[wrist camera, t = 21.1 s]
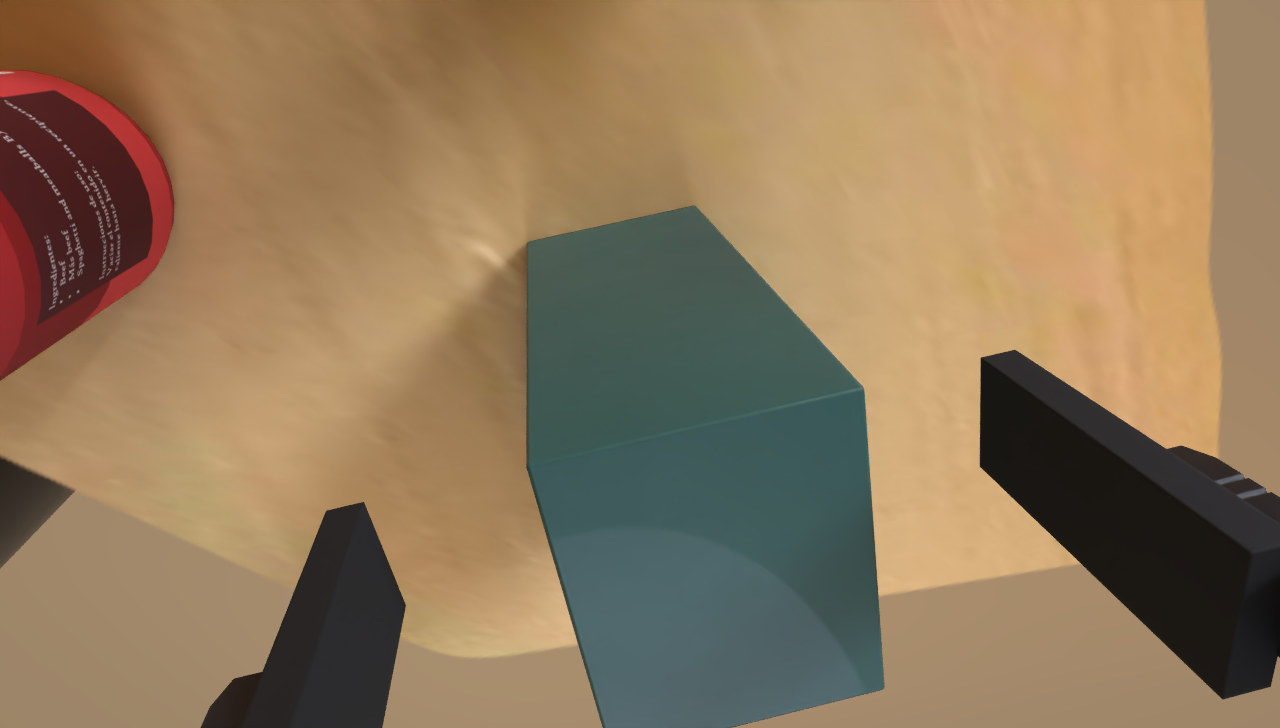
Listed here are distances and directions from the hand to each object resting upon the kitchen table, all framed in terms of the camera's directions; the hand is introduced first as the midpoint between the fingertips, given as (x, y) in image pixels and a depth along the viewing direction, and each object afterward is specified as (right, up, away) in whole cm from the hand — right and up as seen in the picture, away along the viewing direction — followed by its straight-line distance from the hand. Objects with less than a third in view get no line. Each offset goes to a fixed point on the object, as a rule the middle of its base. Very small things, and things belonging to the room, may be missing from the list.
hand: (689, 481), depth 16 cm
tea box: (0, +1, +7) cm, 7 cm away
